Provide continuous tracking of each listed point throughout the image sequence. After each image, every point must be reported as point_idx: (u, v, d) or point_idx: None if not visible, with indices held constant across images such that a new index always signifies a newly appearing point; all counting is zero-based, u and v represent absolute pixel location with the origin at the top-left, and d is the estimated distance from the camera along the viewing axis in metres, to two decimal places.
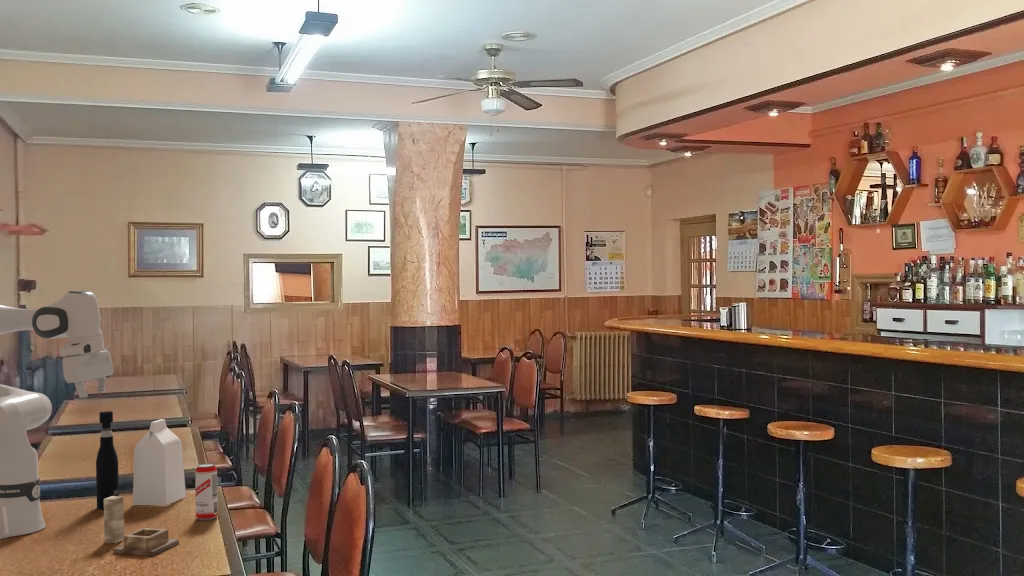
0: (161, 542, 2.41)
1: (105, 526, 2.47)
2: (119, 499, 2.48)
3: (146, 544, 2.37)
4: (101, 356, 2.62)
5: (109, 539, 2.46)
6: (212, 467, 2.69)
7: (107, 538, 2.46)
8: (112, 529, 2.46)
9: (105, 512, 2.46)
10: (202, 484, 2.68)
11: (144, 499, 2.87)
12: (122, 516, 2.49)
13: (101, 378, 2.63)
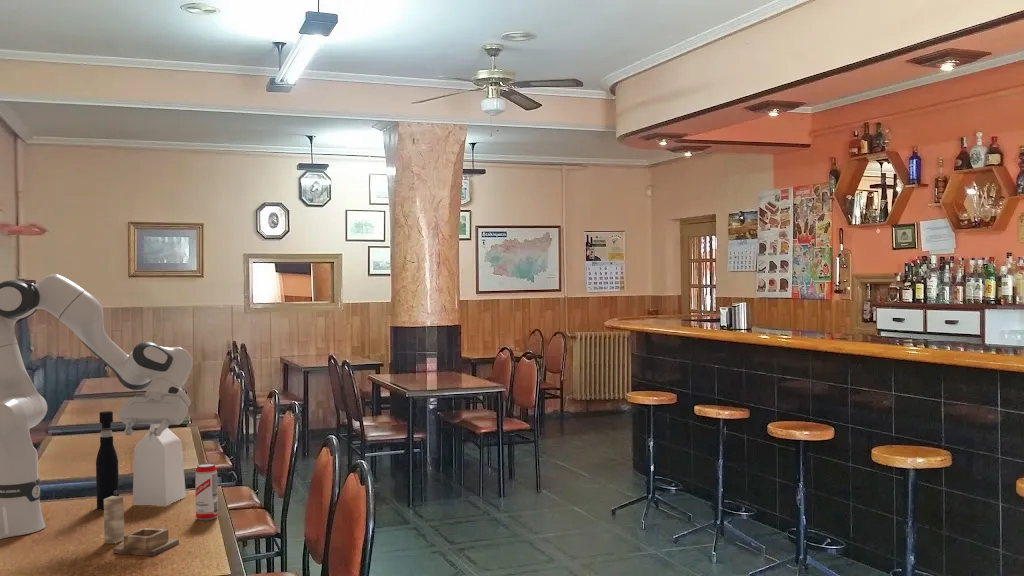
0: (161, 542, 2.41)
1: (105, 526, 2.47)
2: (119, 499, 2.48)
3: (146, 544, 2.37)
4: None
5: (109, 539, 2.46)
6: (212, 467, 2.69)
7: (107, 538, 2.46)
8: (112, 529, 2.46)
9: (105, 512, 2.46)
10: (202, 484, 2.68)
11: (144, 499, 2.87)
12: (122, 516, 2.49)
13: (132, 423, 2.64)
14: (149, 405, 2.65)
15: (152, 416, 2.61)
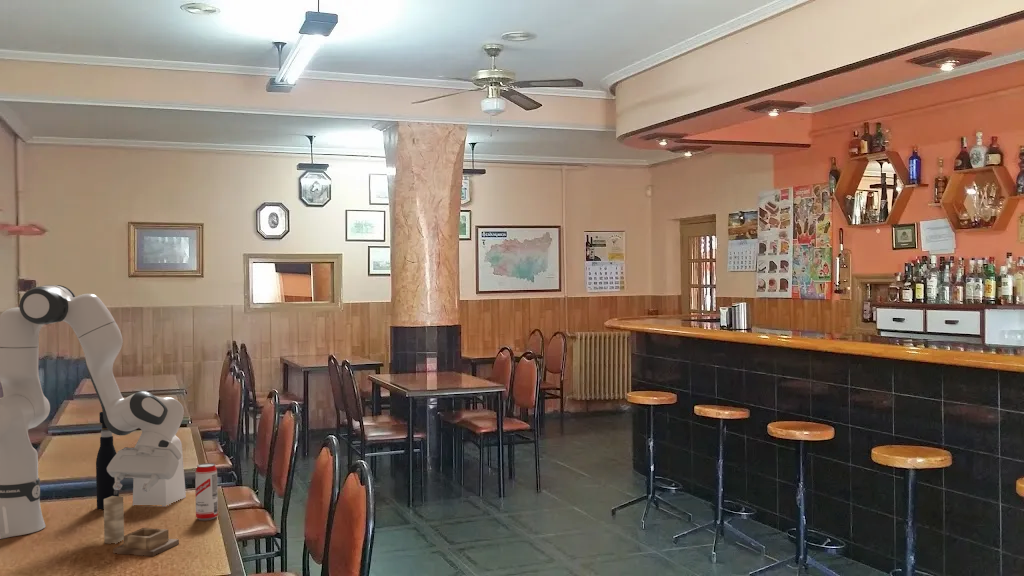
0: (161, 542, 2.41)
1: (105, 526, 2.47)
2: (119, 499, 2.47)
3: (146, 544, 2.37)
4: None
5: (109, 539, 2.46)
6: (212, 467, 2.69)
7: (107, 538, 2.46)
8: (112, 529, 2.46)
9: (105, 512, 2.46)
10: (202, 484, 2.68)
11: (144, 499, 2.87)
12: (122, 516, 2.49)
13: (121, 477, 2.59)
14: (139, 459, 2.60)
15: (142, 471, 2.56)
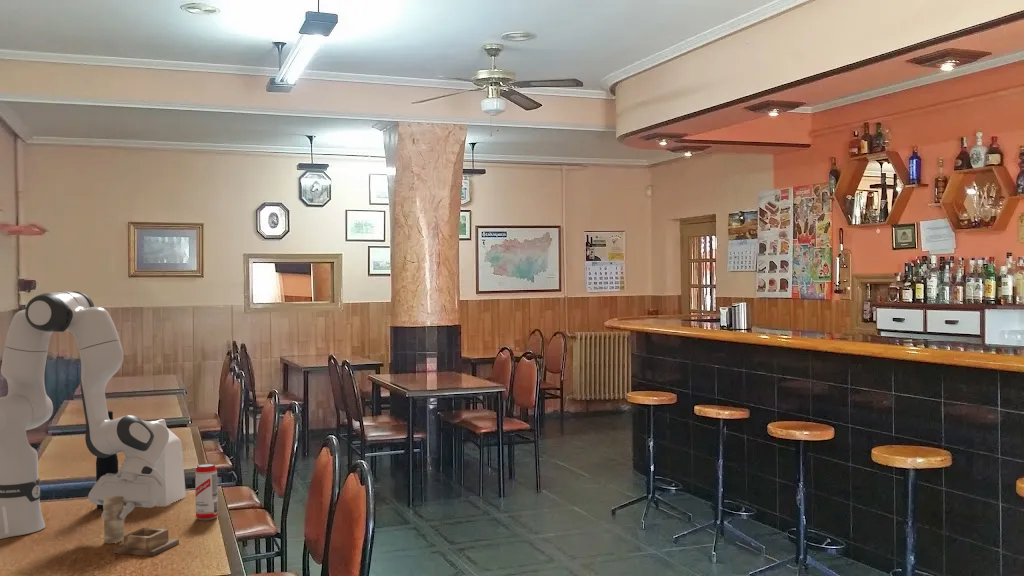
0: (161, 542, 2.41)
1: (105, 526, 2.47)
2: (119, 499, 2.48)
3: (146, 544, 2.37)
4: None
5: (109, 538, 2.46)
6: (212, 467, 2.69)
7: (107, 538, 2.46)
8: (112, 529, 2.46)
9: (105, 512, 2.46)
10: (202, 484, 2.68)
11: None
12: None
13: None
14: (121, 485, 2.53)
15: (124, 498, 2.49)
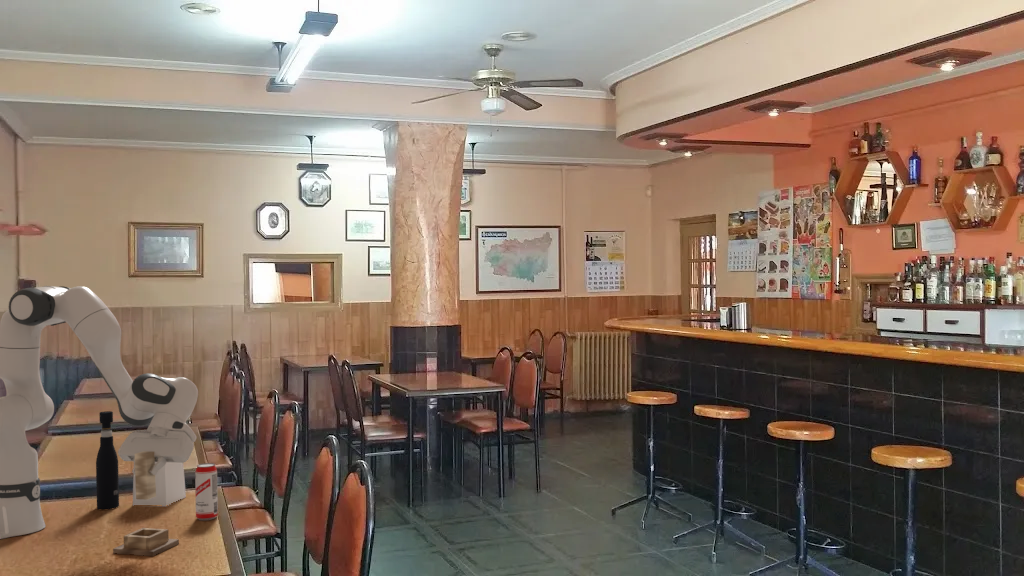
0: (161, 542, 2.41)
1: (136, 482, 2.40)
2: (150, 454, 2.41)
3: (146, 544, 2.37)
4: None
5: (140, 494, 2.40)
6: (212, 467, 2.69)
7: (139, 494, 2.40)
8: (144, 484, 2.39)
9: (136, 467, 2.40)
10: (202, 484, 2.68)
11: (144, 499, 2.87)
12: None
13: None
14: (152, 441, 2.46)
15: (155, 453, 2.42)
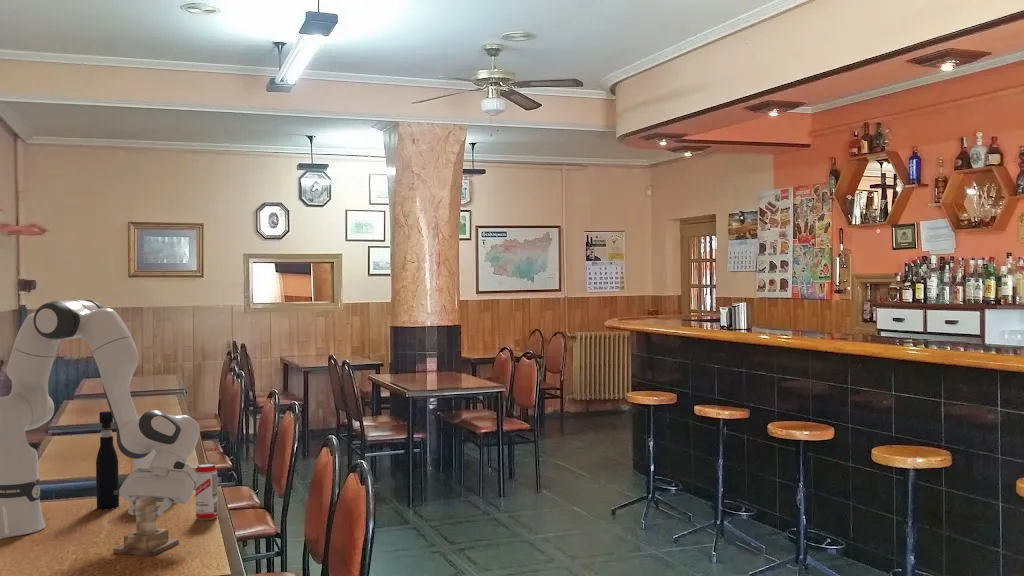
0: (161, 542, 2.41)
1: (137, 528, 2.40)
2: (152, 500, 2.41)
3: (146, 544, 2.37)
4: None
5: None
6: (212, 467, 2.69)
7: None
8: (145, 531, 2.39)
9: (137, 513, 2.40)
10: (202, 484, 2.68)
11: None
12: (154, 518, 2.42)
13: None
14: (153, 481, 2.46)
15: (156, 494, 2.42)
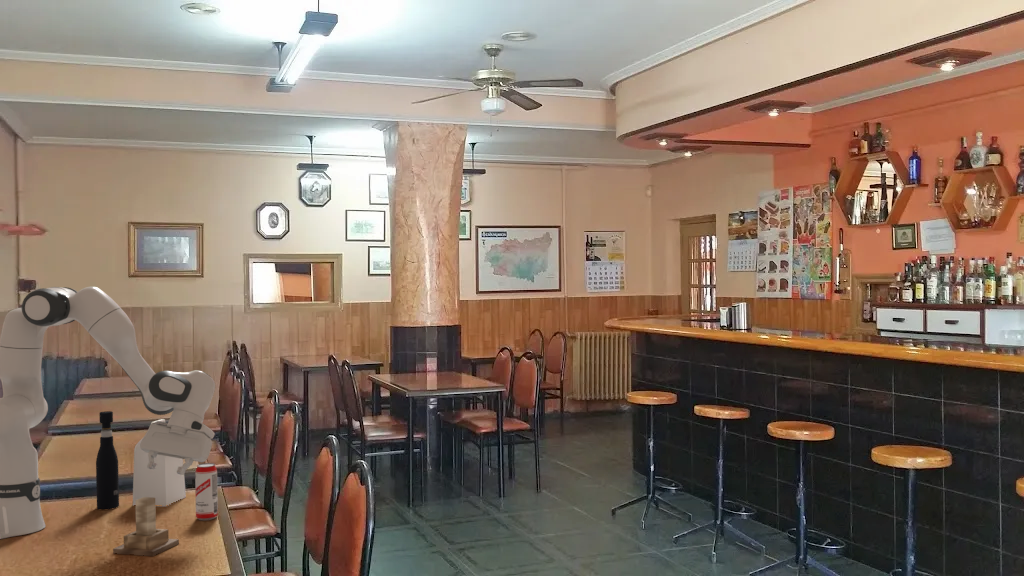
0: (161, 542, 2.41)
1: (136, 528, 2.40)
2: (151, 500, 2.41)
3: (146, 544, 2.37)
4: None
5: None
6: (212, 467, 2.69)
7: None
8: (144, 531, 2.39)
9: (137, 514, 2.40)
10: (202, 484, 2.68)
11: None
12: (154, 518, 2.42)
13: (155, 454, 2.57)
14: (172, 438, 2.57)
15: (175, 453, 2.54)
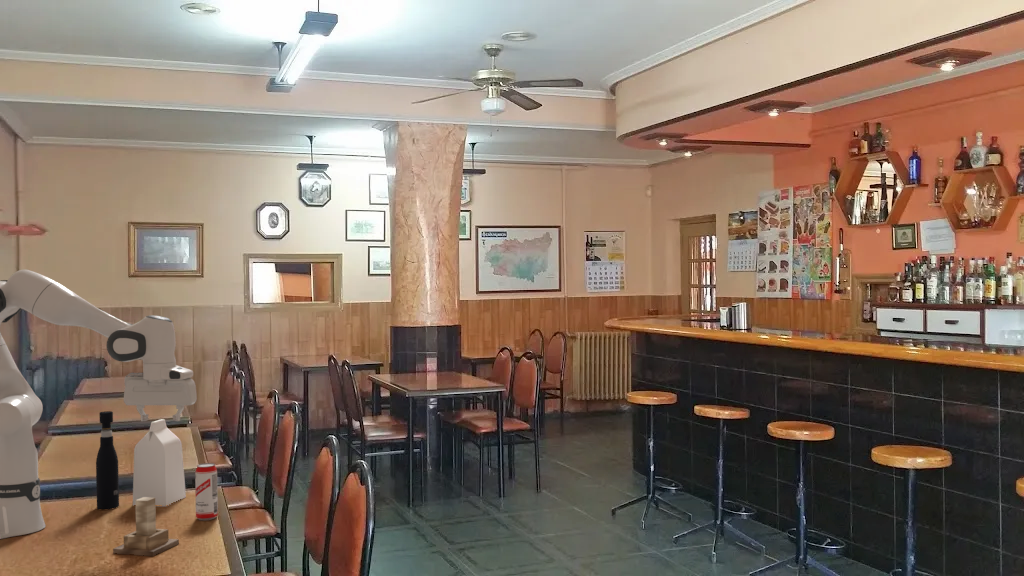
0: (161, 542, 2.41)
1: (136, 528, 2.40)
2: (151, 500, 2.41)
3: (146, 544, 2.37)
4: None
5: None
6: (212, 467, 2.69)
7: None
8: (144, 531, 2.39)
9: (137, 514, 2.40)
10: (202, 484, 2.68)
11: None
12: (154, 518, 2.42)
13: (143, 406, 2.60)
14: (154, 389, 2.57)
15: (164, 403, 2.57)
